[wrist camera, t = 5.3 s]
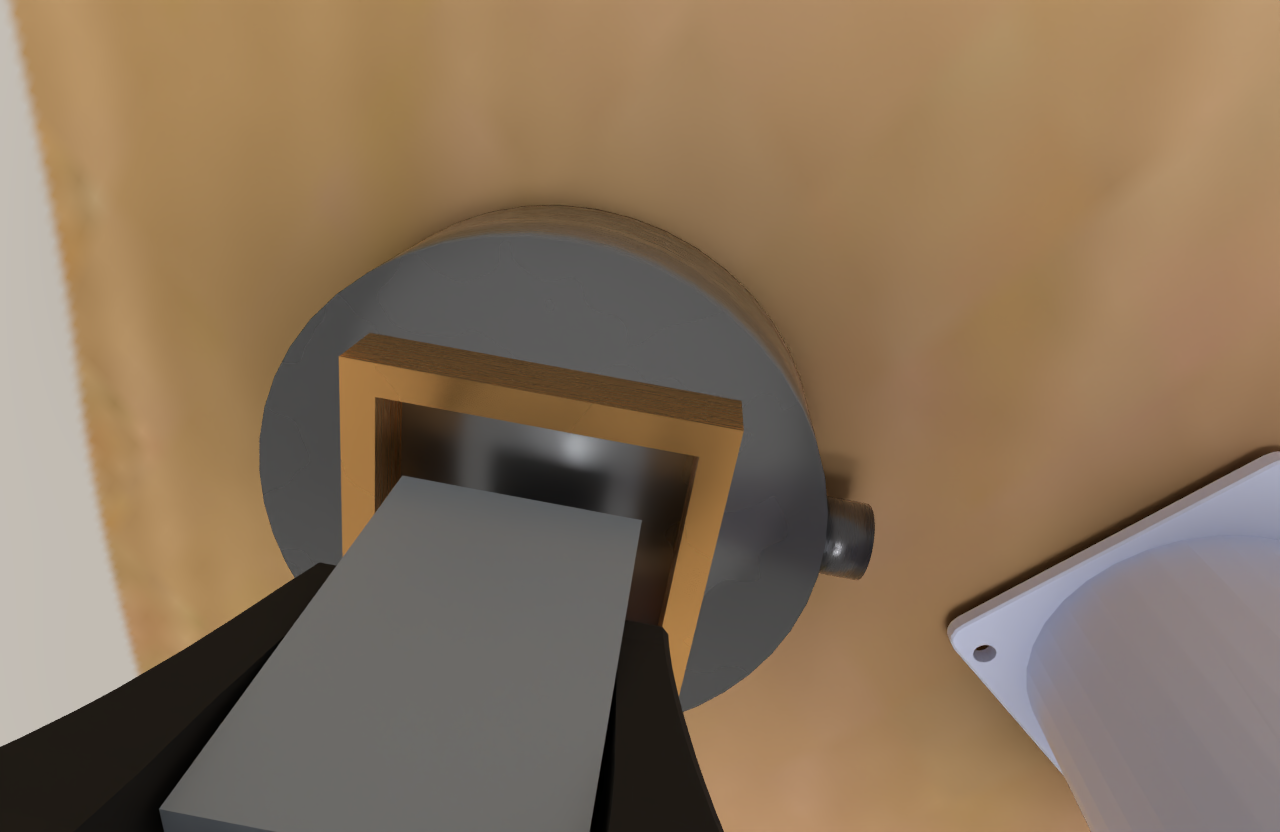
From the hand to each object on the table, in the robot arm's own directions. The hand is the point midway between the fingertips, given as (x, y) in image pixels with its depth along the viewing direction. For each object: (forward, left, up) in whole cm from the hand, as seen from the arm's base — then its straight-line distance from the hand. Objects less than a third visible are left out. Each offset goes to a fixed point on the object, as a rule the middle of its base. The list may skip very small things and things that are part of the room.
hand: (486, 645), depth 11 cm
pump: (0, 0, -2) cm, 2 cm away
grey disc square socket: (0, 0, -6) cm, 6 cm away
